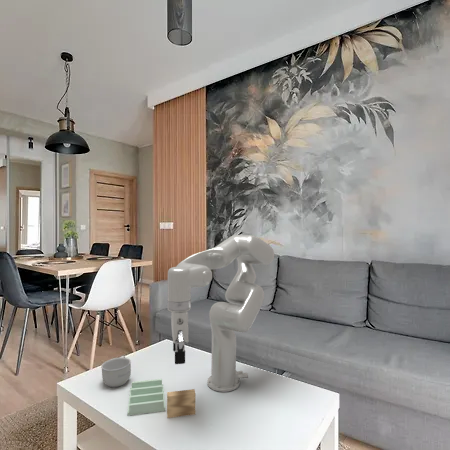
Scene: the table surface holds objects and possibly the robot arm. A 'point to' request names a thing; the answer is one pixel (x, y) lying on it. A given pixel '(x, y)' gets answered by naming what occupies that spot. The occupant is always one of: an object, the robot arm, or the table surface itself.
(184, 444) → the table surface
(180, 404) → the oak board
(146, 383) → the dish rack
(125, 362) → the teacup
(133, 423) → the table surface
